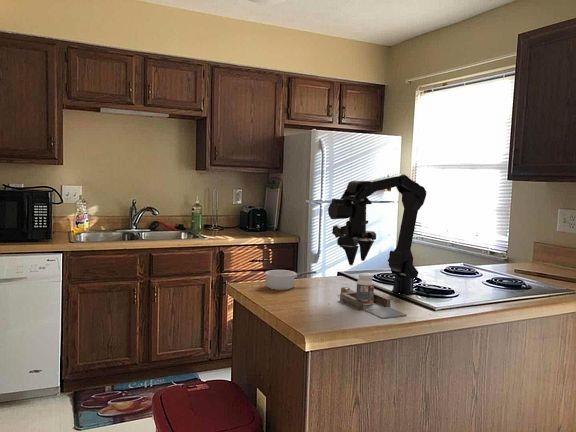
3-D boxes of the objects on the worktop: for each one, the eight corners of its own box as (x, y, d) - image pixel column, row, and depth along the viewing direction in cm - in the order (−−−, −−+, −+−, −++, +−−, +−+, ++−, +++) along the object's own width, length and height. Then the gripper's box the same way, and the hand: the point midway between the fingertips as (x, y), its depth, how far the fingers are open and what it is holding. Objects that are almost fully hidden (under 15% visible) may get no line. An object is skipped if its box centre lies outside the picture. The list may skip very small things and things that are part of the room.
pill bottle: (373, 306, 157) (374, 276, 156) (355, 304, 158) (356, 275, 157) (373, 301, 162) (374, 272, 162) (356, 300, 164) (357, 271, 163)
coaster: (389, 308, 155) (389, 306, 155) (406, 315, 147) (406, 314, 147) (365, 310, 152) (365, 309, 151) (382, 318, 143) (382, 317, 143)
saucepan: (321, 289, 179) (321, 274, 178) (269, 292, 172) (270, 276, 172) (309, 282, 190) (310, 268, 189) (261, 284, 183) (261, 270, 182)
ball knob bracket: (357, 291, 175) (357, 285, 175) (390, 306, 157) (390, 298, 157) (328, 294, 171) (328, 287, 170) (358, 309, 152) (359, 302, 152)
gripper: (348, 214, 176) (348, 256, 177) (323, 218, 160) (323, 265, 162) (377, 215, 169) (376, 259, 171) (353, 221, 154) (353, 268, 156)
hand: (357, 262), depth 165 cm, fingers open, 9 cm apart
